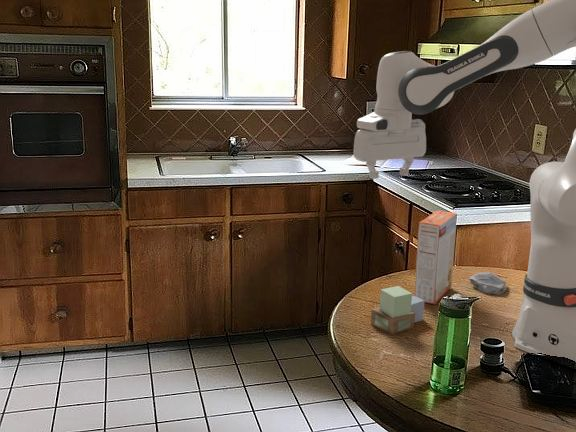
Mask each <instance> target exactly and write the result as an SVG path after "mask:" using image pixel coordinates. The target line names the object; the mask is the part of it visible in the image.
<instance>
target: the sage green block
mask: <svg viewBox="0 0 576 432" xmlns="http://www.w3.org/2000/svg"><path fill="white" fill-rule="evenodd" d="M412 295H413V293H412V292H410V291H408V290H407V289H405V288H403V287H402V286H399V285H396V286H391V287H387V288H382V289H380V298H379V307H380V309H379V310H381V311H382V312H384V313H386V314H387V315H389V316H391V317H392V318H395V317H399V316H403V315H408V314H410V313H411V301H412Z"/></svg>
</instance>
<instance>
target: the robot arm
mask: <svg viewBox="0 0 576 432" xmlns="http://www.w3.org/2000/svg"><path fill="white" fill-rule="evenodd" d="M571 48H576V0H548V1H545V2H543V3H541V4H539V5H537V6H535V7H533V8H530V9H529V10H527V11H525V12H523V13H522V14H520V15H518V16H517V17H515V18H514V19H512V20H511V21H509V22H508V23H507V24H506V25H504V26H503V27H501V28H500V29H499V30H498V31H496V32H495V33H494V34H493V35H492V36H490V37H489V38H488V39H486V40H485V41H484V42H482V43H481V44H479V45H477V46H476V47H474V48H472V49H471V50H470V49H469V50H468V51H467V52H464V53H462V54H461V55H458V56H456V57H454V58H453V59H450V60H448V61H446V62H444V63H442V64H440V65H433V64H431V63H429V62H427V61H425V60H423V59H422V58H420V57H418V56H417V55H416V54H415V53H414V52H412V51H411V50H403V51H396V52H395V51H394V52H389V53H387V54H385V55H383V56H382V57H381V59H380V60H379V64H378V67H377V69H378V70H377V74H376V86H375V87H376V91H375V92H376V95H377V98H376V103H375V106H374V107H375V108H374V111H372V112H371V113H369V114H366V115H364V116H362V117H359V118H358V119H357V121H356V127H357V128H358V129H357V131H356V132H355V135H354V142H353V151H352V152H353V157H354V158H355V160H356V161H359V162H363V163H366V167H367V169H368V171H369V175H368V176H369V179H371V180H377V179H379V175H380V171H378V170H377V169H376V167H375V166H377V161H386V160H387V161H388V160H396V159H397V160H399V159H400V160H401V159H403V161H404V163H403V165H402V167H400V168H399V172H398V173H399V175H400V176H402V177H405V176H408V175H409V173H410V172H409V169H410V168H411V166H412V164H413V162H414V158H419V157H420V158H421V157H424V156H425V154H426V153H427V152H426V151H427V134H426V123H425V122H424V121H423V120H422V119H419V118H416V119H413V118H412V115H413V114H414V115H417V116H419V115H420V116H421V115H429V113H432V112H433V111H435V110H436V109H439V108H441V107H443V106H445V105H446V104H448V103H449V102H450V101H451V100H452V98H453V97H454V94H455V92H456V91H457V90H459V89H461V88H463V87H465V86H467V85H470V84H472V83H473V82H475V81H477V80H479V79H482V78H483V77H486V76H489V75H491V74H495V73H499V72H503V71H504V72H505V71H508V70H510V71H511V70H516V69H521V68H524V67H525V68H526V67H529V66H533V65H535V64H538V63H541V62H544V61H546V60H548V59H550V58H552V57H555V56H557V55H558V54H560V53H562V52H564V51H567V50H569V49H571ZM529 191H530V205H529V206H530V207H529V208H530V214H529V215H530V248H529V249H530V250H529V258H528V264H527V266H528V267H527V273H526V274H525V275H524V280H523V288H522V291H523V298H522V303H521V306H520V310H519V314H518V317H517V320H516V323H515V325H514V327H513V329H512V332H511V334H512V335H511V336H512V338H513V339H514V344H513V345H514V347H515V348H517V349H519V350H521V351H524V352H526V353H528V354H531V353H542V354H546V355H550V356H557V357H565V358H568V359H571V360H573V361H575V362H576V128H575V129H574V130H573V133H572V141H571V144H570V147H569V150H568V152H567V154H566V157H565V159H564V161H549V162H545V163H542V164H540V165H539V166H537V167H536V168H535V169H534V170H533V172H532V173H531V175H530V179H529Z"/></svg>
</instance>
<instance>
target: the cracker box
mask: <svg viewBox="0 0 576 432" xmlns="http://www.w3.org/2000/svg"><path fill="white" fill-rule="evenodd" d="M457 220H458V213H457V212H450V211H445V210H436V211H434V212H433V213H431V214H430V215H428V216H427V217H426V218H424V219H422V220H420V221H419V222H418V228H417V229H418V230H417V231H418V233H417V249H416V250H417V251H416V265H415V277H414V278H415V281H414V294H413V296H415V297H418V298H420V299H422V300H425V302H424V304H425V303H426V304H430V305H436V304H437V302H439V301H440V299H442V298H443V296H445V294H447V292H448V291H449V290H450V289H451V288H452V282H453V269H454V256H455V255H454V254H455V247H456V246H455V244H456V232H457Z"/></svg>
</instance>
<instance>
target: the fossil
mask: <svg viewBox="0 0 576 432" xmlns="http://www.w3.org/2000/svg"><path fill="white" fill-rule="evenodd" d="M468 280H469V282H470V284H471V285H472V286H473V287H475V289H477V290H478V291H479V292H482V293H484V294H493V295H501V294H503V293H505V292H506V291H507V288H508V287H507V285H506V284H507V283H506V282H507V281H506V280H504V279H503V278H501V277H499V276H498V275H496V274H494V273H493V272H490V271H483V272H477V273H475V274H473V275H471V276H470V277H469V278H468Z"/></svg>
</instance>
